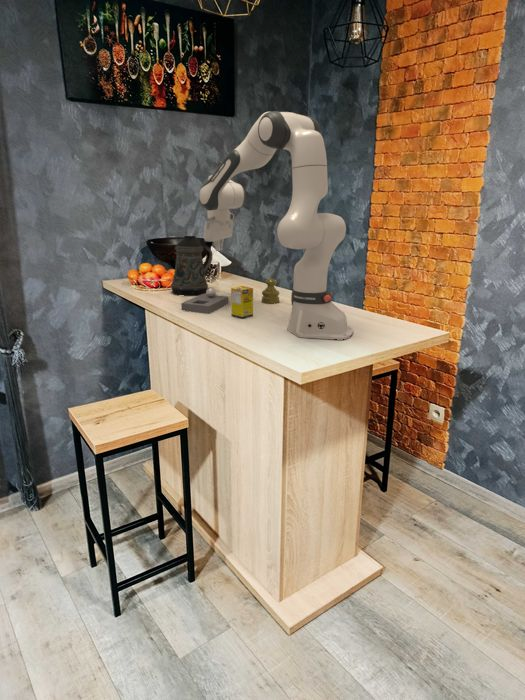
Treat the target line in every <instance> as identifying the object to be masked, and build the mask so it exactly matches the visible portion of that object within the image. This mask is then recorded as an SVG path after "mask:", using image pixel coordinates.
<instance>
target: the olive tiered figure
mask: <svg viewBox="0 0 525 700" xmlns="http://www.w3.org/2000/svg"><path fill="white" fill-rule="evenodd" d="M264 283H265V284H266V285H267V287H266V288H265V289H263V290H262V291H261V295H262V296H261V302H262V303H263V304H267V303H268V305H269V304H270V305H272V304H274V303H275V304H279V302H280V296H279V295H280V291H279V290H277V288H275V285H276V284H277V283H278V282H277V280H276V279H274V278H273V277H271V278H270V277H269V278H268V279H266V280H264Z"/></svg>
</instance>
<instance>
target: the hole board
mask: <svg viewBox="0 0 525 700" xmlns="http://www.w3.org/2000/svg"><path fill="white" fill-rule="evenodd" d="M228 303H229V296H226V295H217V294H216V295H215V296H214V297H208V296H207V294H201V295H198V296H193V297H192V298H190V299H188V300H185V301H184V302H181V305H180V306H181V311H182V310H185V311H184V312H189V311H191V312H190V313H198V312H199V313H200V314H211V312H212V313H213V312H216V311H217V310H219V309H221V308H223V307H225V306H227V305H228ZM226 304H227V305H226ZM224 305H225V306H224Z"/></svg>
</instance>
